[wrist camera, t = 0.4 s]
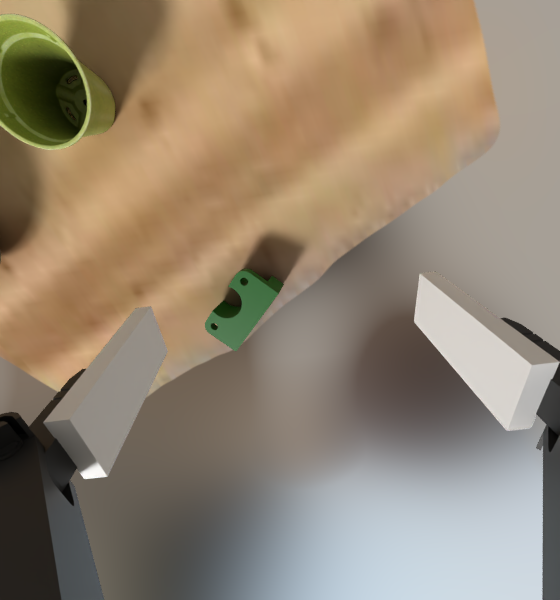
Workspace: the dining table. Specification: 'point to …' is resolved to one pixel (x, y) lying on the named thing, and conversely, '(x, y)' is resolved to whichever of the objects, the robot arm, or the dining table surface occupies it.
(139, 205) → the dining table surface
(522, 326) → the robot arm
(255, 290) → the clamp
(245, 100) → the dining table surface
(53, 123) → the plant pot
